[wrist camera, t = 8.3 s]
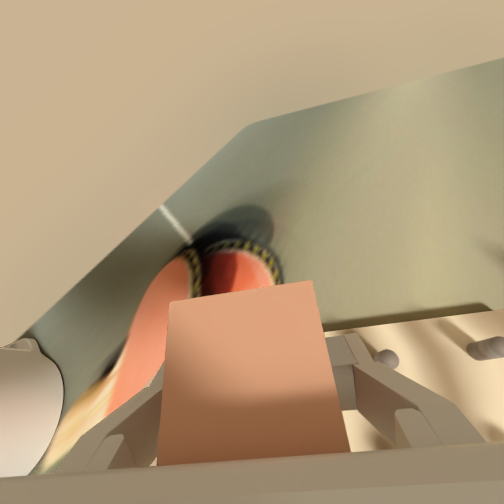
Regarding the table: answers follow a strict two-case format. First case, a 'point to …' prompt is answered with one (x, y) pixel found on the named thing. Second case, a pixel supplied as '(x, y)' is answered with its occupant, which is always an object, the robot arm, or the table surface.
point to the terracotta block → (248, 379)
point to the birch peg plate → (440, 368)
